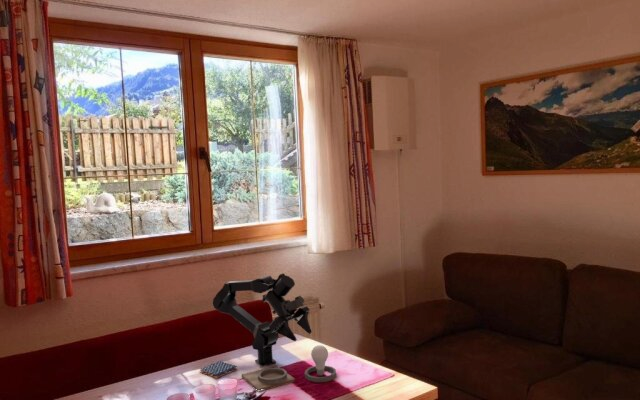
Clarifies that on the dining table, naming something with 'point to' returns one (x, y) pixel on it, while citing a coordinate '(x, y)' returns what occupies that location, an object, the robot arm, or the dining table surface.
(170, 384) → the dining table surface
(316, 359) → the lightbulb
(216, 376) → the woven mat
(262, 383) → the socket board
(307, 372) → the collar
